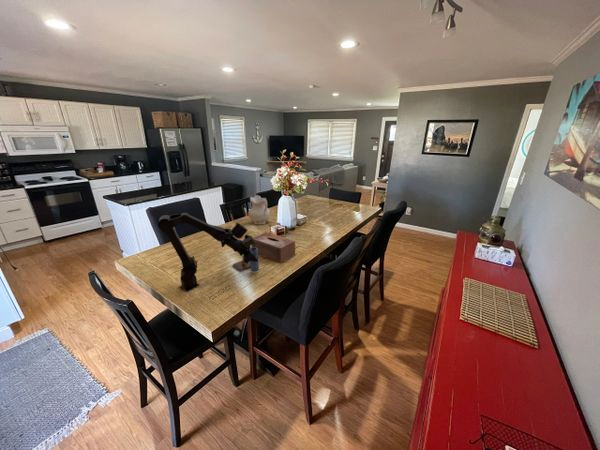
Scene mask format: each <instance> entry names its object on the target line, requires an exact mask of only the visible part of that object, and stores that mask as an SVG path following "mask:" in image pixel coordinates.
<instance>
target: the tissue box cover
mask: <svg viewBox="0 0 600 450" xmlns="http://www.w3.org/2000/svg"><path fill="white" fill-rule="evenodd" d="M252 238H253V239H254V241H255V243H254V244H252V245H251V248H252V247H256V248H258V256H261V257H265V258H267V259H270V260H273V261H274V262H277V263H280V264H282V263H284V262H286V261H287V260H289V259H291V258H292V257H293V256H295V255H296V240H294V239H290V238H288V237H284V236H280V235H278V234H274V233H271V232H268V231H266V232H263V233H261V234H258V235H256V236H254V237H253V236H252Z"/></svg>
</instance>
